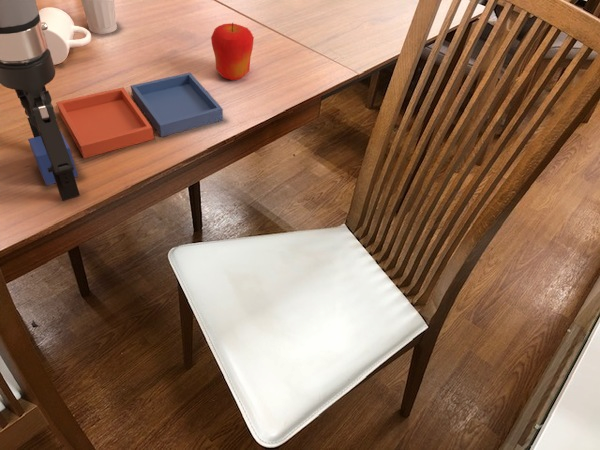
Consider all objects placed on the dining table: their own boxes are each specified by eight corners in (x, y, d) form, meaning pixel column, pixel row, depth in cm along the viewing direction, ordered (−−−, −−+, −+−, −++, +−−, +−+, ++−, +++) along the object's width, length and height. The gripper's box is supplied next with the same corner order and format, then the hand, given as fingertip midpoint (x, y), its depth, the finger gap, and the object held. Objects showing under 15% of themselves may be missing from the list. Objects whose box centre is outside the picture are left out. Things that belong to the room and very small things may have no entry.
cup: (91, 18, 122) (80, -35, 113) (124, 21, 122) (116, -31, 114) (80, 33, 117) (67, -21, 108) (114, 37, 117) (105, -17, 108)
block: (38, 167, 84) (27, 138, 80) (69, 159, 86) (60, 130, 82) (46, 185, 82) (36, 156, 77) (78, 176, 84) (69, 147, 79)
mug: (31, 65, 105) (19, 28, 100) (40, 42, 112) (30, 6, 106) (92, 65, 108) (84, 29, 102) (97, 43, 114) (90, 7, 108)
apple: (258, 71, 113) (260, 19, 104) (241, 88, 107) (242, 35, 98) (224, 60, 114) (223, 8, 106) (205, 77, 109) (203, 24, 100)
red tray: (59, 114, 95) (56, 102, 93) (125, 98, 100) (123, 87, 98) (83, 158, 87) (80, 146, 85) (154, 139, 92) (152, 127, 91)
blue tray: (132, 97, 101) (130, 85, 99) (190, 83, 106) (190, 72, 105) (161, 137, 93) (159, 125, 91) (222, 120, 99) (222, 108, 97)
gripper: (75, 90, 63) (106, 211, 79) (25, 10, 77) (60, 125, 92) (10, 104, 60) (55, 227, 75) (-30, 17, 74) (16, 136, 89)
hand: (58, 171), depth 84 cm, fingers open, 13 cm apart
